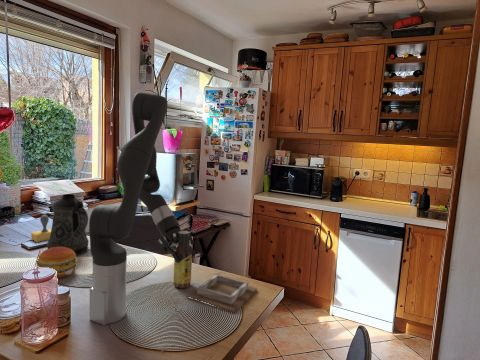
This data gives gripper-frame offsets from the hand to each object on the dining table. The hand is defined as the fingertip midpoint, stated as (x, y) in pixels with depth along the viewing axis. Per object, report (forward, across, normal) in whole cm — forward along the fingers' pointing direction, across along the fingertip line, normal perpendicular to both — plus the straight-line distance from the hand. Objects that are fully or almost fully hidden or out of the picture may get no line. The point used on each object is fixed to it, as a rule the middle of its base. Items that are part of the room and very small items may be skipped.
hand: (186, 259), depth 119 cm
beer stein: (-36, -10, +51) cm, 64 cm away
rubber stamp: (-53, -11, +68) cm, 86 cm away
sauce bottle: (+6, 0, +9) cm, 11 cm away
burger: (-22, -25, +37) cm, 50 cm away
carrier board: (+17, +5, -2) cm, 18 cm away
